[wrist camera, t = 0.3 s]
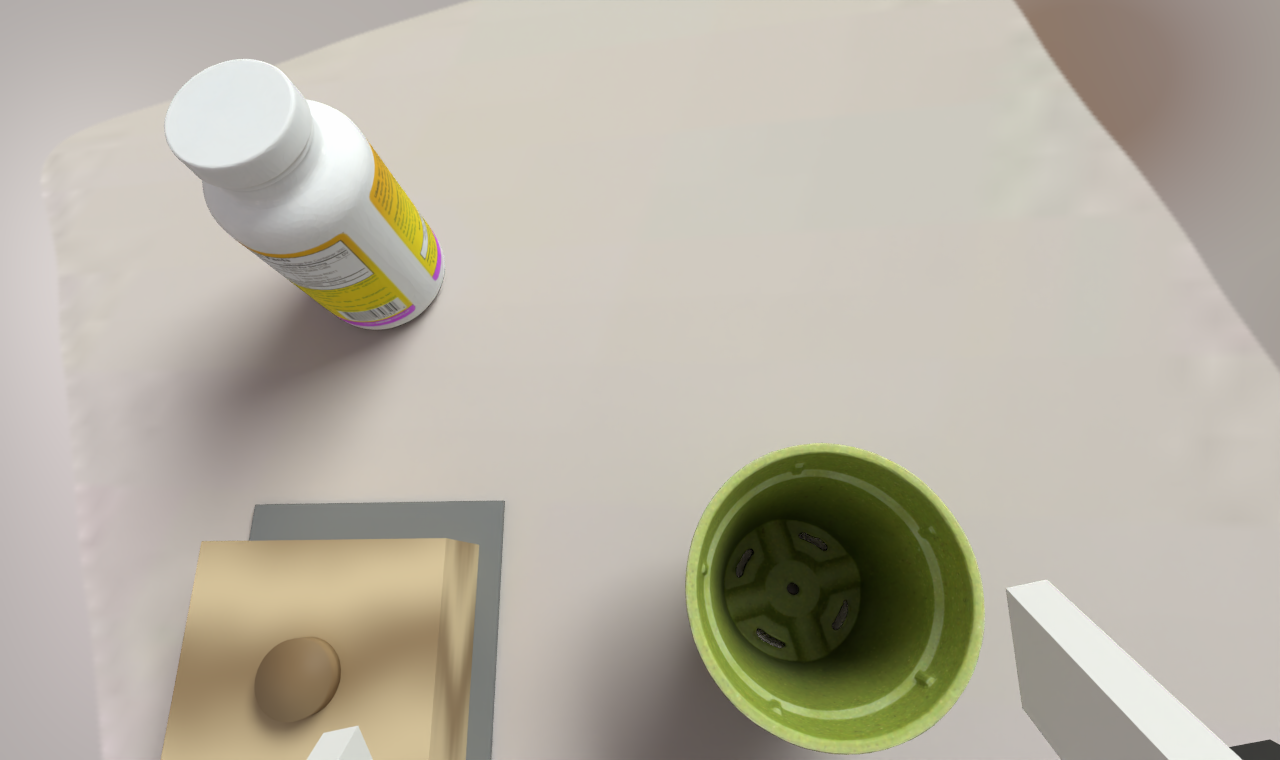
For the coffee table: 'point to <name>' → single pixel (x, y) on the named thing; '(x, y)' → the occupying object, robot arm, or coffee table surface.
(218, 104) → the supplement bottle
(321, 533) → the mat
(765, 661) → the plant pot
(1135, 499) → the coffee table surface
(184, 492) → the coffee table surface
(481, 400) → the coffee table surface
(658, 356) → the coffee table surface
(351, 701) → the lid
